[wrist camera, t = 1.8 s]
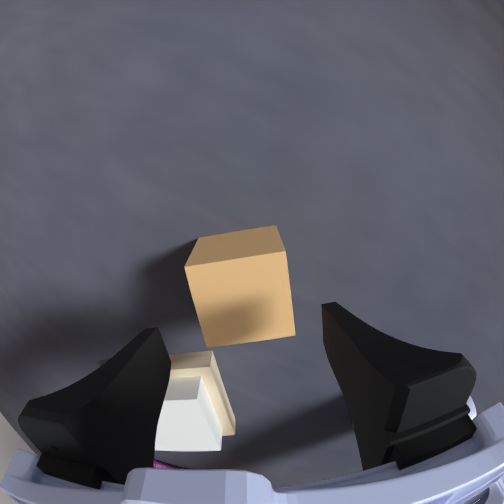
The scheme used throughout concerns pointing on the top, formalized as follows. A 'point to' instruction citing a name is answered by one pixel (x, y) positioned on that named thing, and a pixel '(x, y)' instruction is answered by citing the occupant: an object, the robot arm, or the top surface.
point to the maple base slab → (206, 383)
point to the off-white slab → (188, 418)
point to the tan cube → (241, 287)
